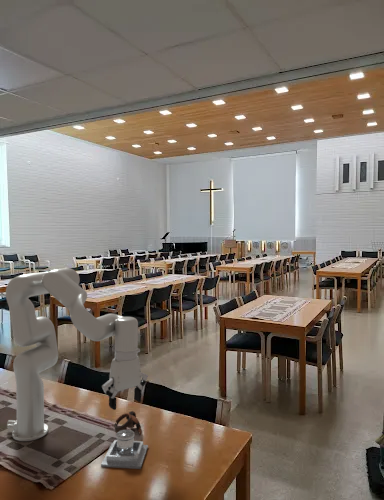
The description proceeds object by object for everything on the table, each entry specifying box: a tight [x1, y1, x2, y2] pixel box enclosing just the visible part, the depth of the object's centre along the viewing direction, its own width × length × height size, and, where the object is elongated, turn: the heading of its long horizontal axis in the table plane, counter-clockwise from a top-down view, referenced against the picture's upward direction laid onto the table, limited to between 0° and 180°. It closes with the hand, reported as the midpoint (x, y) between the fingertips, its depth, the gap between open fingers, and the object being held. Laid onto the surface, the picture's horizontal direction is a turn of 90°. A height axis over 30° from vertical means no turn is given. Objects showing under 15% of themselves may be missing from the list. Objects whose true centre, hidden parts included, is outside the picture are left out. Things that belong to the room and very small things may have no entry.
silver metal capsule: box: [115, 429, 135, 456], centre depth 136 cm, size 6×6×7 cm
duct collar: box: [100, 439, 149, 470], centre depth 136 cm, size 13×13×3 cm
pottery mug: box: [113, 410, 143, 436], centre depth 153 cm, size 12×10×8 cm
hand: (125, 404), depth 135 cm, fingers open, 9 cm apart
